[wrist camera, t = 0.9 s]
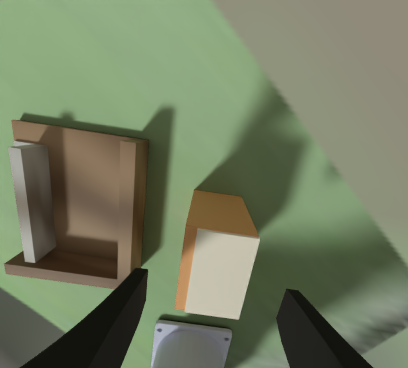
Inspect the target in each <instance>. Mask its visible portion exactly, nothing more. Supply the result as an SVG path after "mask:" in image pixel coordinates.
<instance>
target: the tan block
mask: <svg viewBox="0 0 408 368" xmlns="http://www.w3.org/2000/svg"><path fill="white" fill-rule="evenodd" d="M259 242H260V238H259V235H258V233H257V230H256V228H255V226H254V224H253V221H252V219H251V217H250V215H249V212H248V210H247V208H246V206H245V203H244V201H243V199H242V197H240V196H233V195H227V194H220V193H213V192H206V191H200V190H194V193H193V197H192V201H191V205H190V210H189V214H188V218H187V222H186V228H185V235H184V243H183V250H182V257H181V265H180V272H179V280H178V287H177V295H176V302H175V309H178V310H185V312H187V313H194V314H201V315H208V316H216V317H223V318H230V319H237V320H239V317H240V313H241V309H242V306H243V302H244V298H245V294H246V291H247V287H248V283H249V279H250V276H251V272H252V268H253V264H254V261H255V257H256V253H257V249H258V246H259Z"/></svg>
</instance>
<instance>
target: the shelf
mask: <svg viewBox="0 0 408 368" xmlns="http://www.w3.org/2000/svg"><path fill="white" fill-rule="evenodd" d="M12 127H13V135H14V141H13V144H14V146H13V147H8V149H9V156H10V163H11V170H12V177H13V183H14V190H15V197H16V204H17V211H18V217H19V224H20V231H21V238H22V245H23V251H22V252H21V253H19V254H18V255H16V256H15V257H14V258H12V259H11V260H9V261H8V262H6V263H5V264H4V265H5V271H6V274H9V275H17V276H24V277H31V278H38V279H45V280H53V281H60V282H67V283H74V284H82V285H89V286H96V287H103V288H110V289H116V288H117V287H118V286H119V285H120V284H121V283H122V282H123V281H124V280H125V279H126V277H127V276H128V275H129V274H130V273H131V272H132V271H133V270H134V269H135V268H141V258H142V243H143V227H144V211H145V195H146V179H147V164H148V148H149V140H146V139H140V138H133V137H127V136H120V135H113V134H107V133H100V132H94V131H87V130H81V129H74V128H68V127H61V126H55V125H48V124H41V123H35V122H28V121H22V120H12Z"/></svg>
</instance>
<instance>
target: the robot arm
mask: <svg viewBox="0 0 408 368" xmlns="http://www.w3.org/2000/svg"><path fill="white" fill-rule="evenodd" d="M147 277H148V269H142V268H135V269H134V270H133V271H132V272H131V273H130V274H129V275H128V276H127V277H126V279H125V280H124V281H123V282H122V283H121V284H120V285H119V286H118V287H117V288H116V289H115V290H114V291H113V292H112V293H111V294H110V295H109V296H108V297H107V298H106V299H105V300H104V301H103V302H102V303H100V304H99V305H98V306H97V307H96V308H95V309H94V310H93V311H92V312H91V313H89V314H88V315H87V316H86V317H85V318H84V319H83V320H81V321H80V322H79V323H78V324H77V325H76V326H74V327H73V328H72V329H71V330H70V331H68V332H67V333H66V334H64V335H63V336H62V337H61V338H59V339H58V340H57V341H56V342H54V343H53V344H52V345H50V346H49V347H48V348H46V349H45V350H44V351H42V352H41V353H39V354H38V355H37V356H36V357H34V358H33V359H31V360H30V361H28V362H27V363H26V364H24V365H23V366H21V367H20V368H120V367H121V365H122V363H123V360H124V358H125V355H126V353H127V350H128V348H129V346H130V343H131V341H132V338H133V336H134V333H135V331H136V329H137V326H138V324H139V321H140V317H141V314H142V311H143V308H144V304H145V301H146V290H147ZM276 319H277V324H278V329H279V333H280V337H281V342H282V345H283V348H284V351H285V354H286V357H287V360H288V363H289V366H290V368H373V367H372V366H371V365H370V364H369V363H368V362H367V361H366V360H365V359H364V358H363V357H362V356H361V355H360V354H359V353H357V352H356V351H355V350H354V349H353V348H352V347H351V346H350V345H349V344H348V343H347V342H346V341H345V340H344V339H343V338H342V337H341V335H340V334H339V333H338V332H337V331H336V330H335V329H334V328H333V327H332V326H331V325H330V324H329V323H328V322H327V321H326V320H325V319H324V318H323V316H322V315H321V314H320V313H319V312H318V311H317V310H316V309H315V308H314V307H313V306H312V305H311V303H310V302H309V301H308V300H307V299H306V298H305V297H304V296H303V295H302V294H301V293H300V292H299V291H298V290H291V289H286V292H285V295H284V297H283V300H282V303H281V306H280V309H279V312H278V315H277V318H276ZM231 339H232V331H231V330H230V329H225V328H218V327H211V326H203V325H196V324H189V323H181V322H174V321H167V320H158V321H156V325H155V333H154V343H153V353H152V363H151V368H224V365H225V361H226V358H227V354H228V350H229V346H230V342H231Z"/></svg>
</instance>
